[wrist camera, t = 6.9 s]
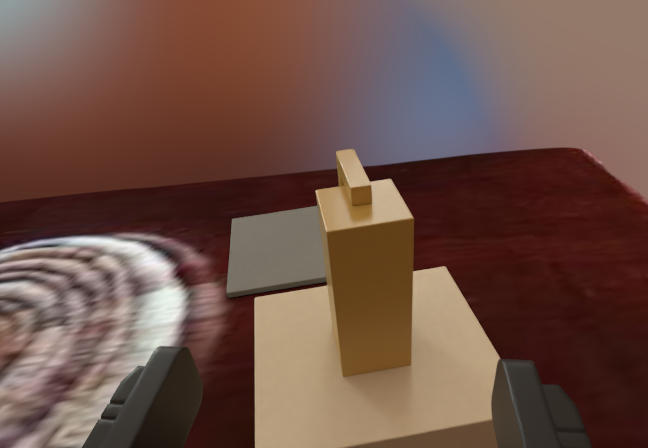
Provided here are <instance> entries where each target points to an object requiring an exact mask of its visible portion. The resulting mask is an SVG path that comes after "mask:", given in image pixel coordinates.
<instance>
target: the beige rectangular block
mask: <svg viewBox="0 0 648 448" xmlns="http://www.w3.org/2000/svg"><path fill="white" fill-rule="evenodd" d="M499 359H500V357H499V356H498V354H497V352H496V351H495V349H494V347H493V346H492V344H491V342H490V341H489V339H488V337H487V335H486V334H485V332H484V330H483V329H482V327H481V325H480V324H479V322H478V320H477V319H476V317H475V315H474V314H473V312H472V310H471V309H470V307H469V305H468V304H467V302H466V300H465V299H464V297H463V295H462V294H461V292H460V290H459V289H458V287H457V285H456V283H455V282H454V280H453V278H452V277H451V275H450V273H449V272H448V270H447V268H446V267H445V266H444V267H438V268H432V269H426V270H420V271H414V272H413V301H412V356H411V365H408V366H403V367H397V368H391V369H386V370H380V371H374V372H369V373H363V374H358V375H352V376H346V377H343V376H342V371H341V366H340V362H339V357H338V352H337V347H336V342H335V337H334V333H333V328H332V320H331V312H330V304H329V296H328V288H327V286H322V287H316V288H310V289H304V290H298V291H292V292H286V293H280V294H274V295H268V296H262V297H256V298H255V448H498V445H497V440H496V435H495V431H494V426H493V420H492V411H491V398H492V391H493V386H494V380H495V374H496V368H497V363H498V360H499Z"/></svg>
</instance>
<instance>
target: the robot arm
mask: <svg viewBox="0 0 648 448" xmlns="http://www.w3.org/2000/svg"><path fill="white" fill-rule="evenodd" d="M202 395H203V385H202V381H201V378H200V376H199V373H198V371H197V368H196V366H195V363H194V360H193V358H192V355H191V353H190V350H189V349H188V348H187V347H165V346H160V347H158V348H156V349H155V351H154V352H153V354H152V355H151V357H150V359H149V361H148V362H147V364H146V366H138V367H136V368H135V369H134V370H133V371H132V372H131V373H130V374H129V375H128V376H127V377H126V378H125V379H124V380H123V381H122V382H121V383H120V385H119V387H118V388H117V390H116V392H115V393H114V395H113V397H112V398H111V400H110V404H108V405H107V407H106V408H105V410H104V412H103V413H102V415H101V419H100V420H98V422H97V423H96V425H95V427H94V428H93V430H92V432H91V433H90V435H89V437H88V438H87V440H86V442H85V443H84V445H83V447H82V448H183V447H184V444H185V442H186V439H187V437H188V434H189V432H190V429H191V427H192V424H193V422H194V419H195V417H196V415H197V412H198V410H199V407H200V404H201V401H202ZM491 411H492V420H493V426H494V431H495V435H496V440H497V445H498V448H592V445H591V442H590V440H589V437H588V435H587V434H586V432H585V427H584V424H583V422H582V419H581V417H580V414H579V412H578V409H577V406H576V405H575V404H574V402H573V401H572V400H571V399H570V398H569V397H568V395H567V394H566V393H565V392H564V391H563V390H562V388H561V387H560V386H559V385H544V384H541V381H540V378H539V375H538V372H537V369H536V366H535V364H534V362H533V361H532V360H511V359H499V360H498V363H497V368H496V374H495V380H494V386H493V391H492V398H491Z"/></svg>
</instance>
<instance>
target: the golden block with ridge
mask: <svg viewBox="0 0 648 448" xmlns="http://www.w3.org/2000/svg"><path fill="white" fill-rule="evenodd" d="M336 158H337V166H338V167H337V169H338V180H339V187H333V188H327V189H320V190H316V198H317V206H318V214H319V222H320V230H321V239H322V247H323V255H324V263H325V271H326V279H327V288H328V296H329V304H330V312H331V320H332V328H333V333H334V337H335V342H336V347H337V352H338V357H339V362H340V366H341V371H342V376H343V377H346V376H352V375H358V374H363V373H369V372H374V371H380V370H386V369H391V368H397V367H403V366H408V365H411V356H412V301H413V246H414V218H413V216H412V214H411V213H410V211H409V209H408V207H407V206H406V204H405V202H404V201H403V199H402V197H401V195H400V194H399V192H398V190H397V189H396V187H395V185H394V184H393V182H392V180H391V179H386V180H380V181H373V182H370V181H369V179H368V177H367V175H366V173H365V171H364V169H363V167H362V165H361V163H360V161H359V159H358V157H357V155H356V153H355V151H354V149H348V150H341V151H336Z"/></svg>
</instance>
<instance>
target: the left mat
mask: <svg viewBox="0 0 648 448" xmlns="http://www.w3.org/2000/svg"><path fill="white" fill-rule="evenodd" d="M323 282H327V279H326V271H325V263H324V255H323V247H322V239H321V230H320V222H319V214H318V206H315V207H308V208H302V209H295V210H289V211H282V212H276V213H269V214H263V215H256V216H249V217H243V218H236V219H232V228H231V241H230V254H229V267H228V280H227V292H226V293H227V297H228V298H231V297H237V296H243V295H249V294H255V293H262V292H268V291H274V290H280V289H286V288H292V287H298V286H304V285H310V284H316V283H323Z"/></svg>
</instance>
